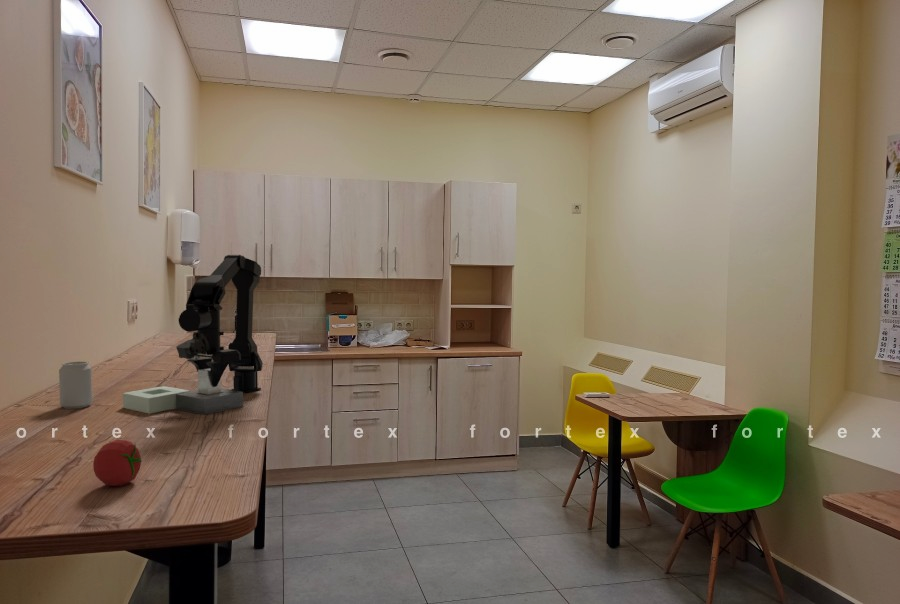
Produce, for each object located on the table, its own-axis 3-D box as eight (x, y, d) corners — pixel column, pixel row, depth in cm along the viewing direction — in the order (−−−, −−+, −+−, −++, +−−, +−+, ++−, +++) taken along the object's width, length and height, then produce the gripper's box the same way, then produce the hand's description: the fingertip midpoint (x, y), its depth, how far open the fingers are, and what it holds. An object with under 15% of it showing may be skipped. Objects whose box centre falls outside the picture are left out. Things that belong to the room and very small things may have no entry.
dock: (164, 399, 176) (164, 386, 176) (190, 405, 170) (190, 390, 170) (123, 407, 166) (122, 393, 166) (149, 413, 160) (148, 398, 159)
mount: (214, 401, 175) (214, 387, 175) (242, 406, 169) (242, 391, 168) (176, 409, 165) (175, 394, 165) (204, 414, 159) (204, 399, 158)
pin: (211, 404, 170) (211, 367, 169) (220, 405, 167) (220, 369, 167) (198, 406, 166) (198, 369, 166) (208, 408, 164) (207, 371, 164)
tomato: (90, 435, 107) (133, 428, 107) (116, 452, 113) (156, 445, 113) (80, 480, 102) (124, 473, 102) (107, 495, 109) (149, 488, 108)
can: (98, 403, 171) (97, 360, 170) (79, 410, 163) (78, 364, 163) (73, 403, 172) (72, 360, 171) (53, 409, 164) (52, 364, 164)
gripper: (159, 328, 164) (161, 386, 165) (204, 332, 154) (205, 394, 155) (197, 325, 173) (197, 380, 174) (241, 329, 163) (241, 387, 164)
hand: (209, 385), depth 167 cm, fingers closed on pin, 4 cm apart
